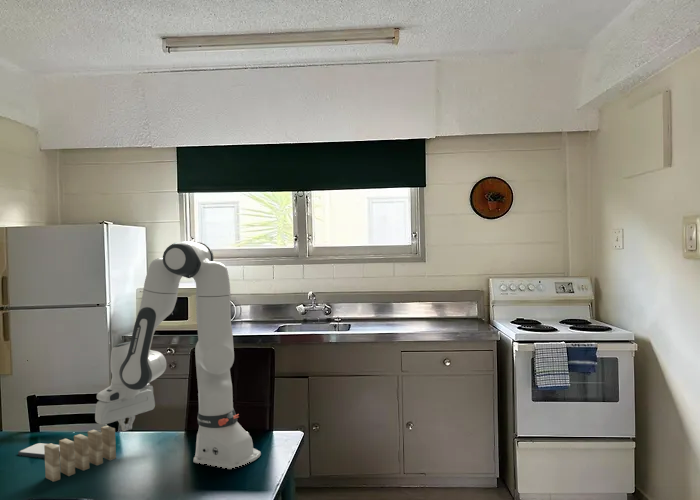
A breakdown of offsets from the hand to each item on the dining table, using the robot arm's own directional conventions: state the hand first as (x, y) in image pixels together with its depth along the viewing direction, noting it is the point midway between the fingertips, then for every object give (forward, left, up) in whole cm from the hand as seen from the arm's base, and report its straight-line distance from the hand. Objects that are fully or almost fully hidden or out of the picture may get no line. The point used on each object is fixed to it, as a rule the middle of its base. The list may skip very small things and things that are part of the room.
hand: (127, 429), depth 183 cm
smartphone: (+23, +16, -8) cm, 30 cm away
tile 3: (0, +16, -7) cm, 17 cm away
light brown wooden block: (0, +11, -7) cm, 13 cm away
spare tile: (0, +25, -7) cm, 26 cm away
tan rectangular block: (0, +7, -7) cm, 10 cm away
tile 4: (0, +20, -7) cm, 22 cm away
